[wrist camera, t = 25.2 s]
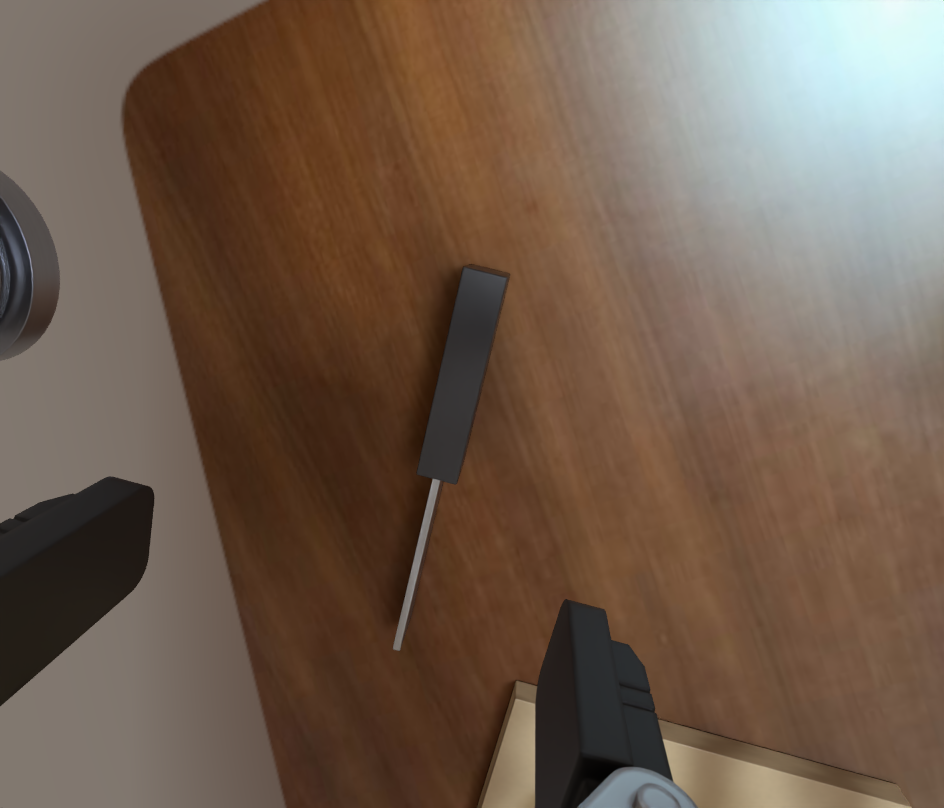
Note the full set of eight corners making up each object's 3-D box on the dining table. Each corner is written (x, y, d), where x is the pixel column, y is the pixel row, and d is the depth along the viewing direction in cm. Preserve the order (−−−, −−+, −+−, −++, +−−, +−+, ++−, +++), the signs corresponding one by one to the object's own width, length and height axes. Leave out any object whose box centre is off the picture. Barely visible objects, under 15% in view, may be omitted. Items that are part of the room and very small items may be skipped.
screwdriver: (470, 263, 30) (462, 266, 27) (510, 273, 30) (507, 277, 27) (389, 614, 35) (376, 647, 32) (424, 623, 35) (413, 657, 32)
